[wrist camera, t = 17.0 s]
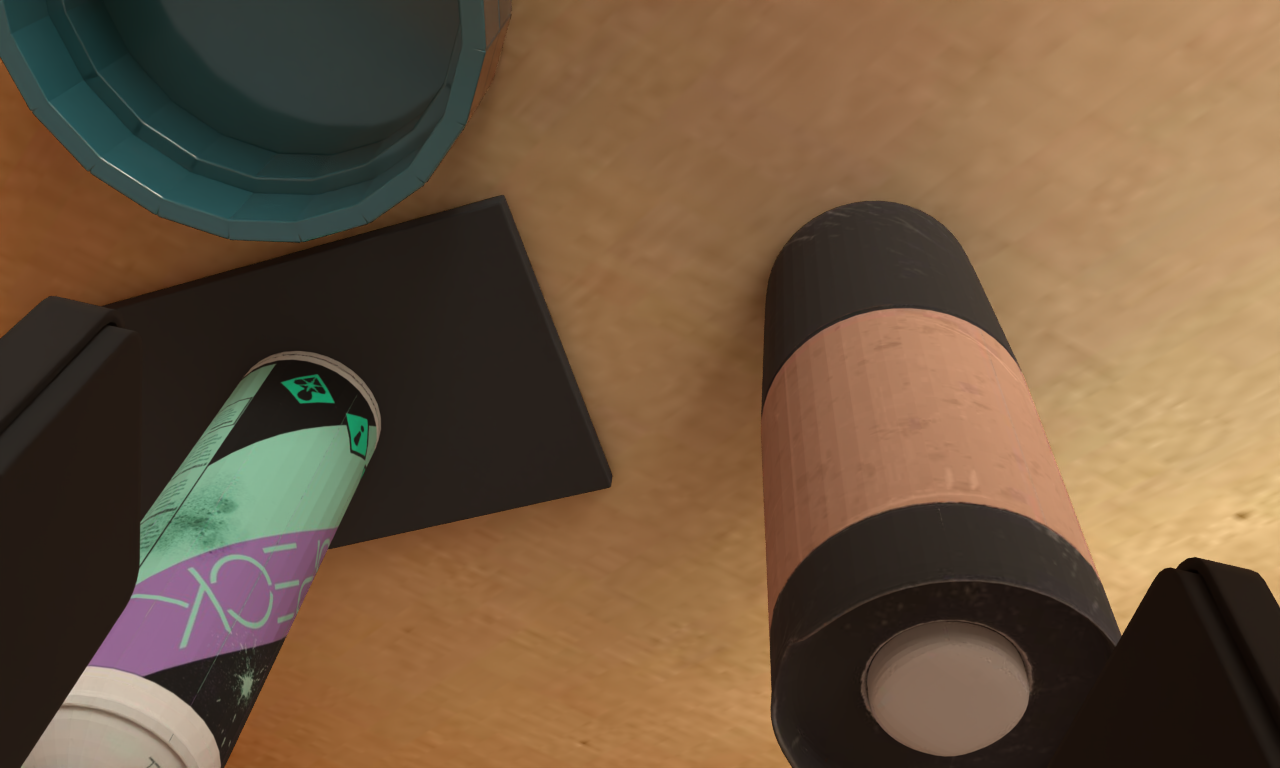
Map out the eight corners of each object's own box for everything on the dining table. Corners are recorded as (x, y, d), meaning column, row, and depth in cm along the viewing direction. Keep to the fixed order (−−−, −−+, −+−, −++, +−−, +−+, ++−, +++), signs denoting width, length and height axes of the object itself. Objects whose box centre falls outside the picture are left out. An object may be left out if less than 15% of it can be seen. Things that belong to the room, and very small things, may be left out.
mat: (8, 331, 46) (-3, 341, 45) (504, 193, 42) (500, 202, 41) (161, 576, 52) (153, 588, 51) (613, 476, 47) (611, 488, 47)
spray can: (321, 499, 48) (83, 965, 31) (208, 409, 46) (-112, 848, 29) (411, 419, 46) (211, 872, 28) (296, 322, 44) (8, 741, 27)
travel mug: (1021, 320, 43) (1208, 759, 26) (833, 424, 45) (888, 885, 28) (908, 147, 40) (1033, 508, 23) (715, 269, 43) (696, 675, 25)
